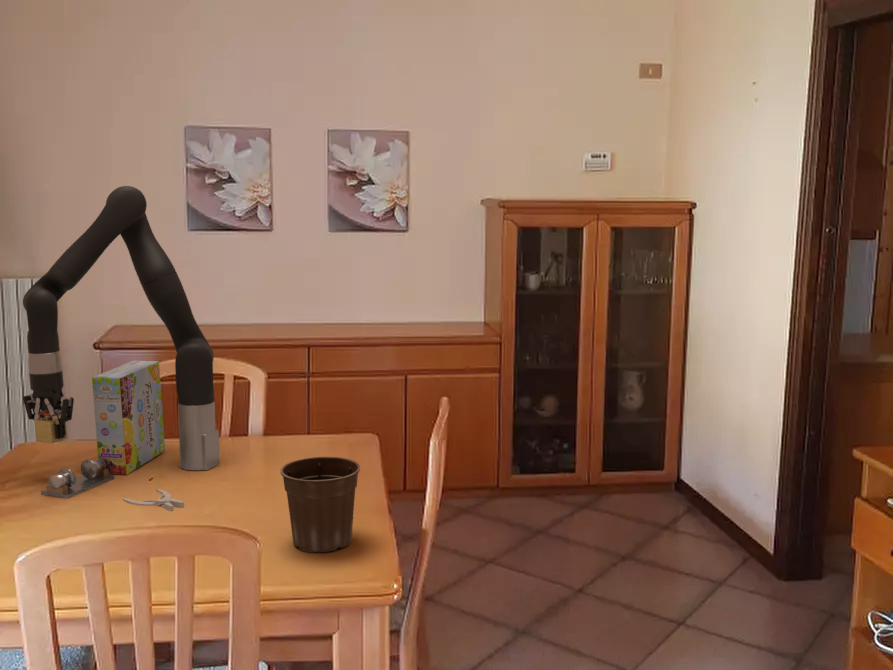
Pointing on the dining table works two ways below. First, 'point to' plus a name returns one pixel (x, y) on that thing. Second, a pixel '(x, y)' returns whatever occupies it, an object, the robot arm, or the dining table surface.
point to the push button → (46, 429)
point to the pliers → (159, 501)
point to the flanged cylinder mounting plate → (78, 479)
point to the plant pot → (321, 501)
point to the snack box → (128, 415)
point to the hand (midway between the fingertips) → (51, 436)
